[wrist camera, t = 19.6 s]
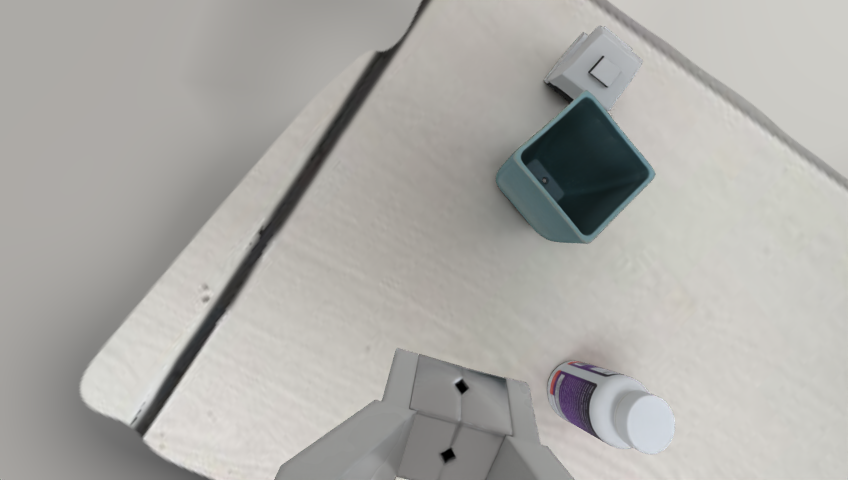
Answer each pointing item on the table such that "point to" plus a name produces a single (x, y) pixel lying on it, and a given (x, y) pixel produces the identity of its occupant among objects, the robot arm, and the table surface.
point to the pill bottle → (611, 407)
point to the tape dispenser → (595, 67)
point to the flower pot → (575, 173)
